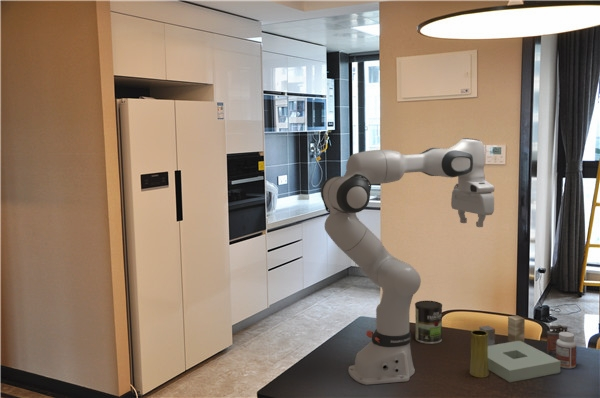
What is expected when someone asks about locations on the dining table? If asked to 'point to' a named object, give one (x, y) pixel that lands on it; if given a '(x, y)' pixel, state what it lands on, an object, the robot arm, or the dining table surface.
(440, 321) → the coffee can
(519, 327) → the long peg
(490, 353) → the socket plate
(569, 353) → the pill bottle
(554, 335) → the lighter
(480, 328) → the short peg
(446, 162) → the robot arm
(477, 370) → the vase
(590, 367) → the dining table surface
